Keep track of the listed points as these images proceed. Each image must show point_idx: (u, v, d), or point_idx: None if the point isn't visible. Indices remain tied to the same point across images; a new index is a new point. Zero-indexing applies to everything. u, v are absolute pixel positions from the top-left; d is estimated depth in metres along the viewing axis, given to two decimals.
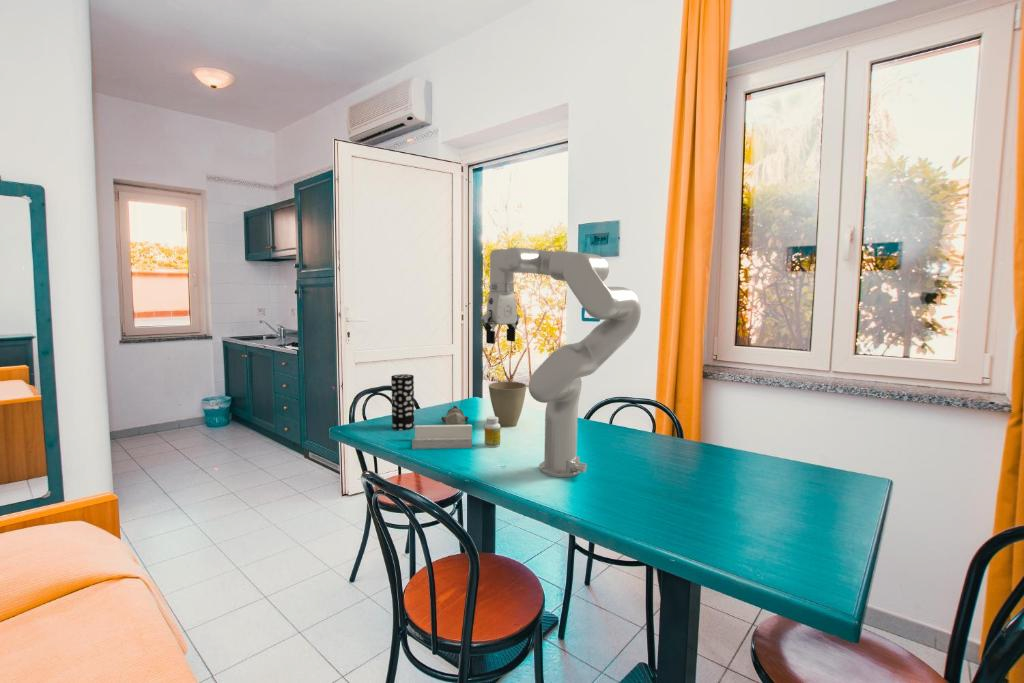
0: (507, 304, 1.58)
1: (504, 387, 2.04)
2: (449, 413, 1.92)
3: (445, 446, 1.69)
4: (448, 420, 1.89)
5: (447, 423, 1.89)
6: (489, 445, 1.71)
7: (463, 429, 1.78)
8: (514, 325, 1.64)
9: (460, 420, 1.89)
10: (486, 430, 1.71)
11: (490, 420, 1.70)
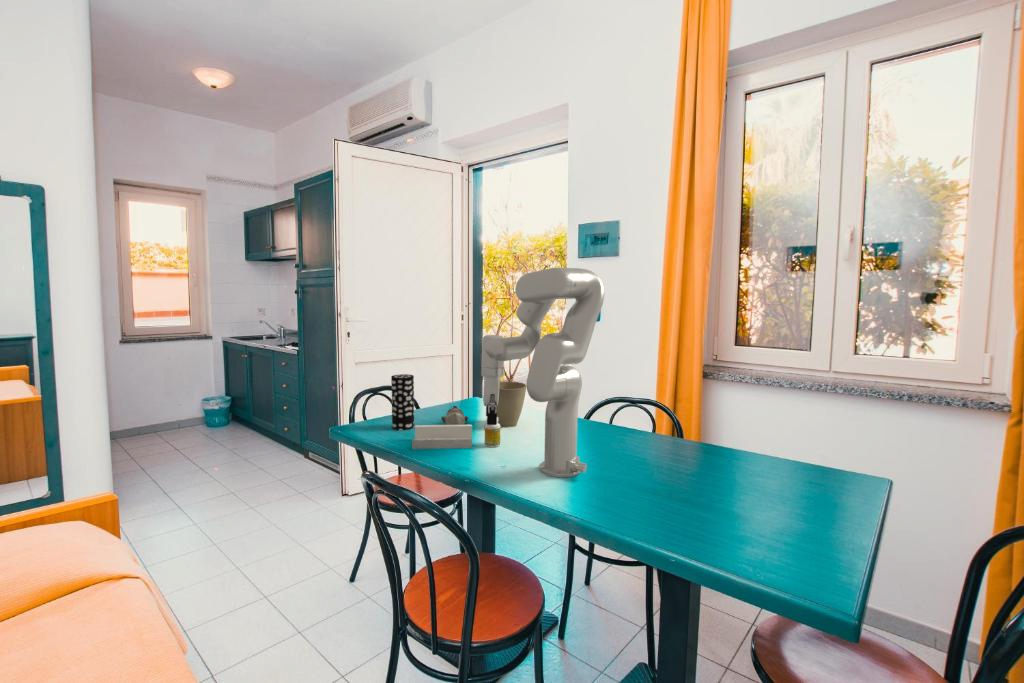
0: None
1: (504, 387, 2.04)
2: (449, 413, 1.93)
3: (445, 446, 1.69)
4: (448, 420, 1.89)
5: (447, 423, 1.90)
6: (489, 445, 1.71)
7: (463, 429, 1.78)
8: (488, 409, 1.67)
9: (460, 420, 1.89)
10: (486, 430, 1.71)
11: None
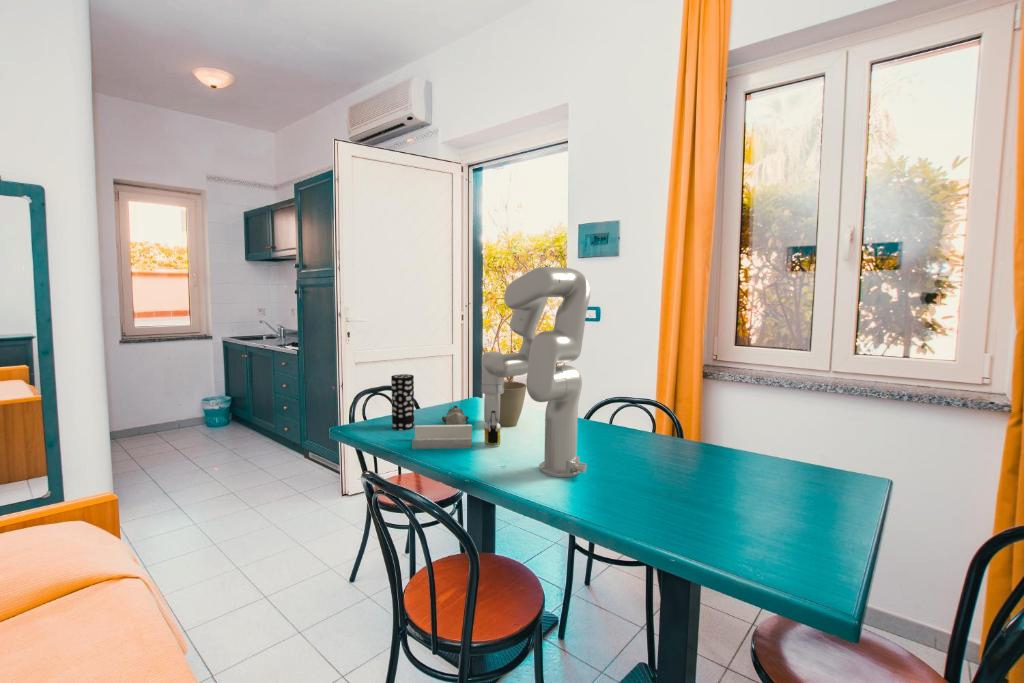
0: (484, 402, 1.72)
1: (504, 387, 2.04)
2: (450, 413, 1.93)
3: (445, 446, 1.69)
4: (449, 420, 1.90)
5: (448, 423, 1.90)
6: (489, 445, 1.71)
7: (463, 429, 1.78)
8: (489, 427, 1.69)
9: (461, 420, 1.90)
10: (486, 430, 1.71)
11: None
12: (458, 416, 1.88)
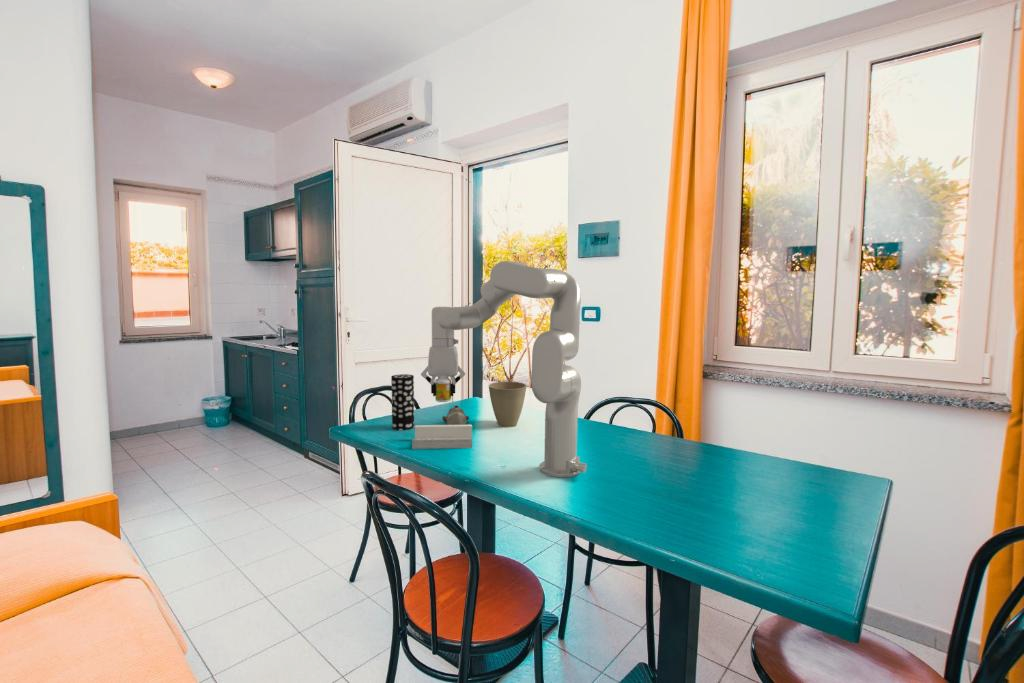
0: None
1: (504, 387, 2.04)
2: (450, 412, 1.93)
3: (445, 446, 1.69)
4: (450, 419, 1.90)
5: (449, 422, 1.90)
6: None
7: (463, 429, 1.78)
8: None
9: (462, 419, 1.90)
10: None
11: None
12: (459, 416, 1.89)
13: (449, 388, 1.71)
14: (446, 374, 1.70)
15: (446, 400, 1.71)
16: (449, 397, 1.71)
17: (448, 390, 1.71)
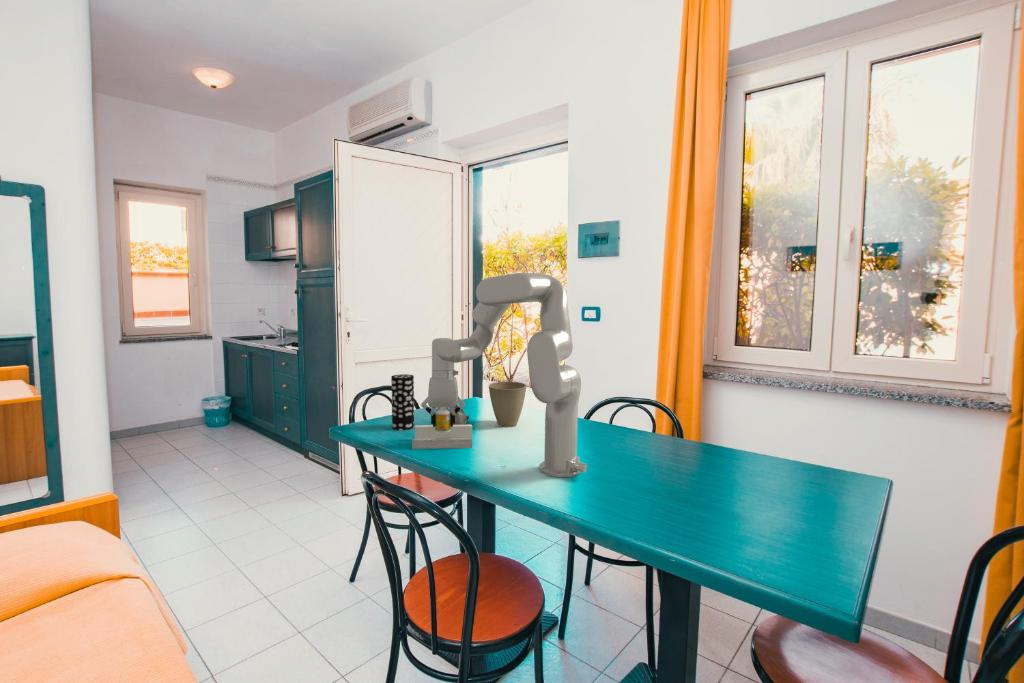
0: None
1: (504, 387, 2.04)
2: (451, 412, 1.93)
3: (445, 446, 1.69)
4: None
5: None
6: None
7: (463, 429, 1.78)
8: None
9: (462, 419, 1.90)
10: None
11: None
12: (459, 416, 1.89)
13: (449, 419, 1.72)
14: (446, 405, 1.71)
15: (446, 431, 1.72)
16: (449, 428, 1.73)
17: (448, 421, 1.72)
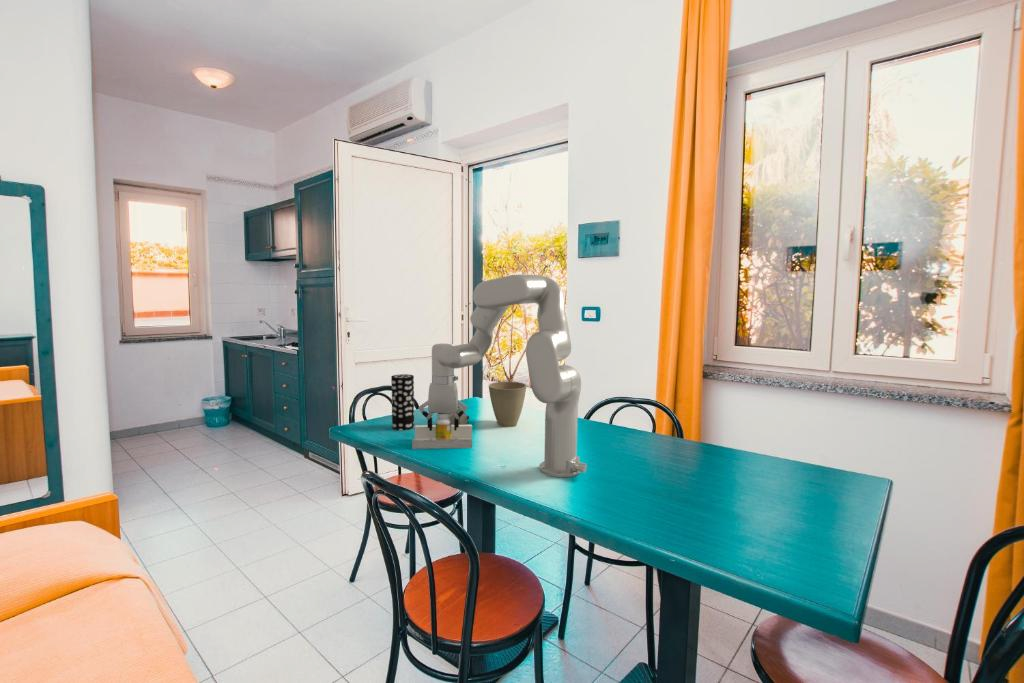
0: None
1: (504, 387, 2.04)
2: None
3: (445, 446, 1.69)
4: (451, 419, 1.90)
5: None
6: None
7: (463, 429, 1.78)
8: None
9: (463, 419, 1.91)
10: None
11: None
12: None
13: (449, 428, 1.73)
14: (446, 411, 1.71)
15: None
16: (449, 437, 1.73)
17: (448, 430, 1.72)
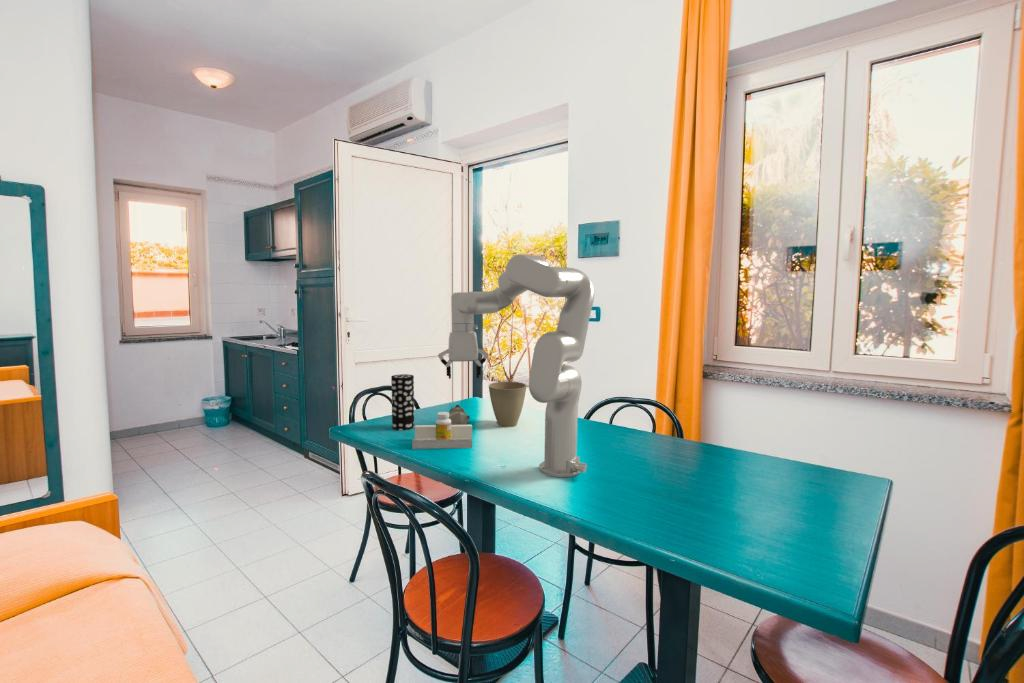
0: None
1: (504, 387, 2.04)
2: (452, 412, 1.94)
3: (445, 446, 1.69)
4: (451, 419, 1.91)
5: None
6: None
7: (463, 429, 1.78)
8: None
9: (463, 419, 1.91)
10: None
11: None
12: (461, 415, 1.90)
13: (449, 428, 1.73)
14: (467, 359, 1.72)
15: None
16: (450, 437, 1.73)
17: (449, 430, 1.72)
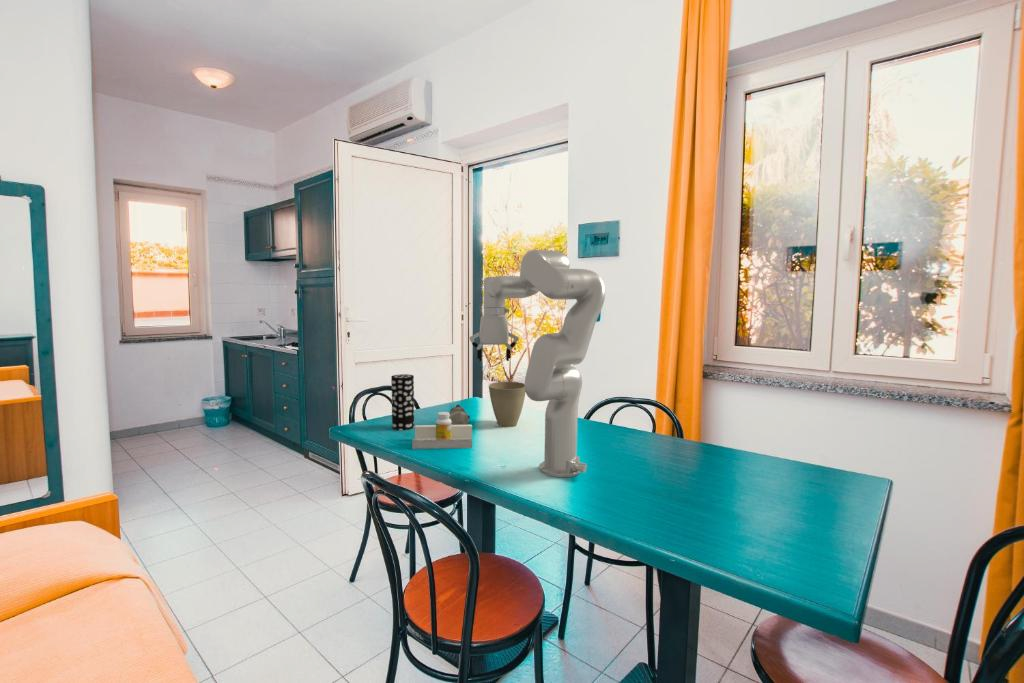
0: None
1: (504, 387, 2.04)
2: (452, 412, 1.94)
3: (445, 446, 1.69)
4: (452, 419, 1.91)
5: None
6: None
7: (463, 429, 1.78)
8: None
9: (464, 419, 1.91)
10: None
11: None
12: (462, 415, 1.90)
13: (450, 428, 1.73)
14: (497, 342, 1.75)
15: None
16: (450, 437, 1.73)
17: (449, 430, 1.72)
